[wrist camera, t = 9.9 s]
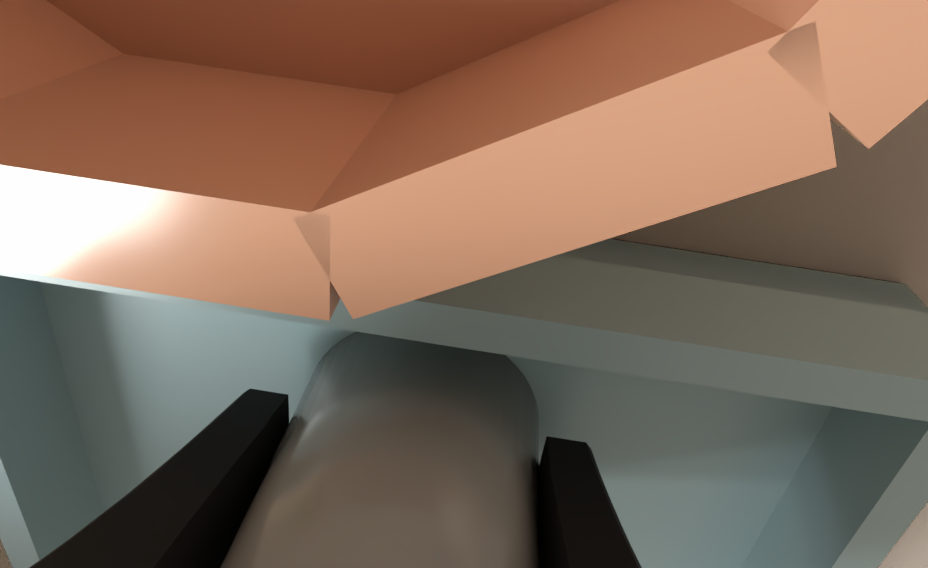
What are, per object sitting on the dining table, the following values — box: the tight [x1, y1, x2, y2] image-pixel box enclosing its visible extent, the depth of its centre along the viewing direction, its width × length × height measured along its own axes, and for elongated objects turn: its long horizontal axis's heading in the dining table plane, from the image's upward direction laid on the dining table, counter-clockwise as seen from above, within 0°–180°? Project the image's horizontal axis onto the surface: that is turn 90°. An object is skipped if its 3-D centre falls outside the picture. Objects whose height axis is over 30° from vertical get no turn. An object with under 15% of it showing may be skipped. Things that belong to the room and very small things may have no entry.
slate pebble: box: [220, 332, 539, 568], centre depth 9 cm, size 4×4×5 cm
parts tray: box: [0, 239, 928, 568], centre depth 12 cm, size 14×14×2 cm
